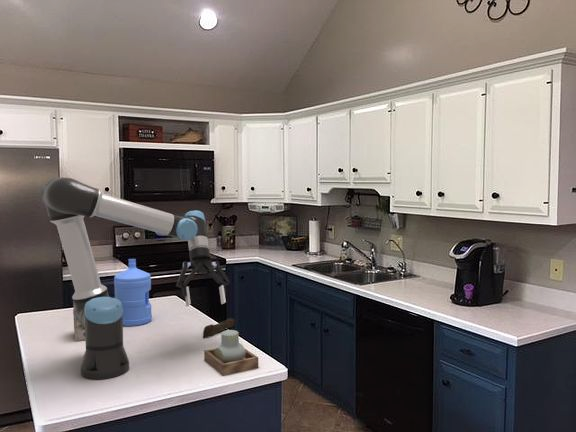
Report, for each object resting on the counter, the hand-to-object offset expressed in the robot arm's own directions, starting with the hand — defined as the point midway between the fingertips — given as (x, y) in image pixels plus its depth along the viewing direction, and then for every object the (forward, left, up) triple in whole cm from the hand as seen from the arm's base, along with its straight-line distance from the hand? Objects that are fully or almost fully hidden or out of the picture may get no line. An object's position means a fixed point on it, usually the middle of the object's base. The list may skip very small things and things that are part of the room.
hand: (206, 304), depth 180 cm
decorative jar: (-33, +43, -18) cm, 57 cm away
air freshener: (+2, -15, -17) cm, 23 cm away
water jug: (-13, +54, -18) cm, 58 cm away
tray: (+3, -15, -18) cm, 24 cm away
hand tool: (+13, +19, -18) cm, 30 cm away
